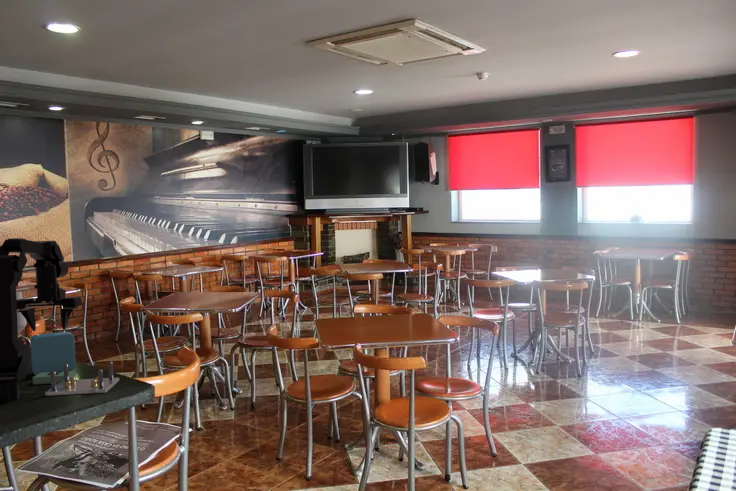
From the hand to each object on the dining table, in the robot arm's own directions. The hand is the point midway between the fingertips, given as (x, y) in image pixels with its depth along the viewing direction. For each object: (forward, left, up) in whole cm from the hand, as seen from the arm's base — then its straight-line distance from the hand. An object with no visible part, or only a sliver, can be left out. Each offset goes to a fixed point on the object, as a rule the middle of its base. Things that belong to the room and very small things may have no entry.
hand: (49, 330), depth 192 cm
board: (-10, -5, -14) cm, 18 cm away
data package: (+2, 0, -14) cm, 14 cm away
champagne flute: (+18, +19, -14) cm, 29 cm away
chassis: (-20, -17, -14) cm, 30 cm away
